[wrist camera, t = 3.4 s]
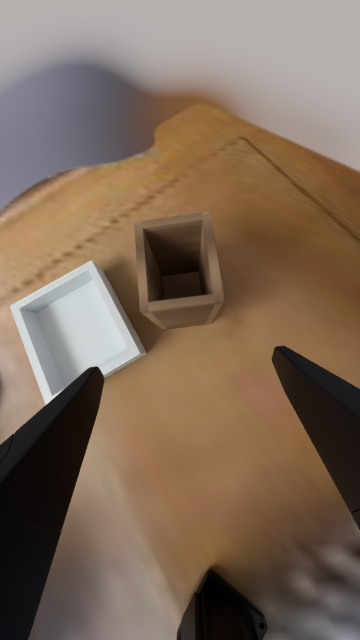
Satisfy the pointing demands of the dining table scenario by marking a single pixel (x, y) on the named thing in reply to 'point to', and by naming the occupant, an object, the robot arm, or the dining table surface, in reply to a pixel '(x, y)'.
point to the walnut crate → (178, 271)
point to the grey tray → (75, 329)
